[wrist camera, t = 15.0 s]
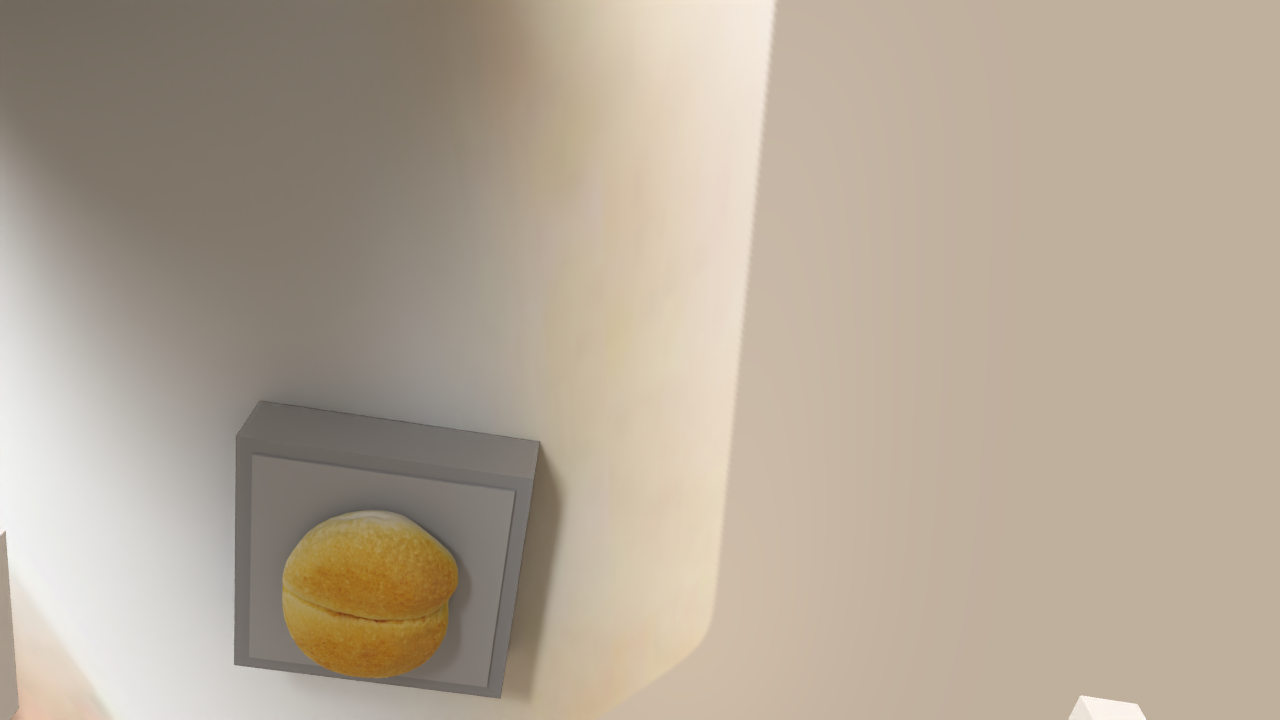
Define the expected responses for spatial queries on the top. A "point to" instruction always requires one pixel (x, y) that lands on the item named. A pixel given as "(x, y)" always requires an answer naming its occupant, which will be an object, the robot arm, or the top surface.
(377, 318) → the top surface
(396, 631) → the bread roll
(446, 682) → the grey square block
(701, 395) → the top surface
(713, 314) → the top surface
